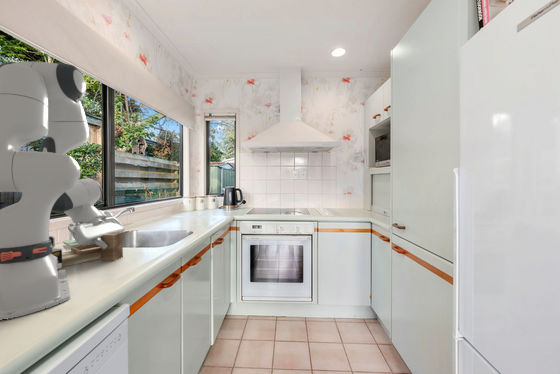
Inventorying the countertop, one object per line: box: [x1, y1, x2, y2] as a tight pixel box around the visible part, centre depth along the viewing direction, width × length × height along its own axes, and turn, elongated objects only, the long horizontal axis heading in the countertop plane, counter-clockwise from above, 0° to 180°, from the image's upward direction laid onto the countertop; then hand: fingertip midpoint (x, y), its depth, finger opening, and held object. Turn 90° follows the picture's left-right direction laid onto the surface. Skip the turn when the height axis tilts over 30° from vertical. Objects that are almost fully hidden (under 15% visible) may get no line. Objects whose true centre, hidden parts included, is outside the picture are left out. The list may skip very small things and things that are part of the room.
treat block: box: [100, 232, 124, 262], centre depth 99 cm, size 5×5×10 cm
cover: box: [63, 239, 95, 248], centre depth 109 cm, size 11×11×6 cm
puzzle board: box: [62, 243, 101, 268], centre depth 100 cm, size 12×18×4 cm, turn 143°
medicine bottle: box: [49, 235, 63, 269], centre depth 88 cm, size 7×7×12 cm
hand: (113, 245), depth 99 cm, fingers closed on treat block, 5 cm apart
